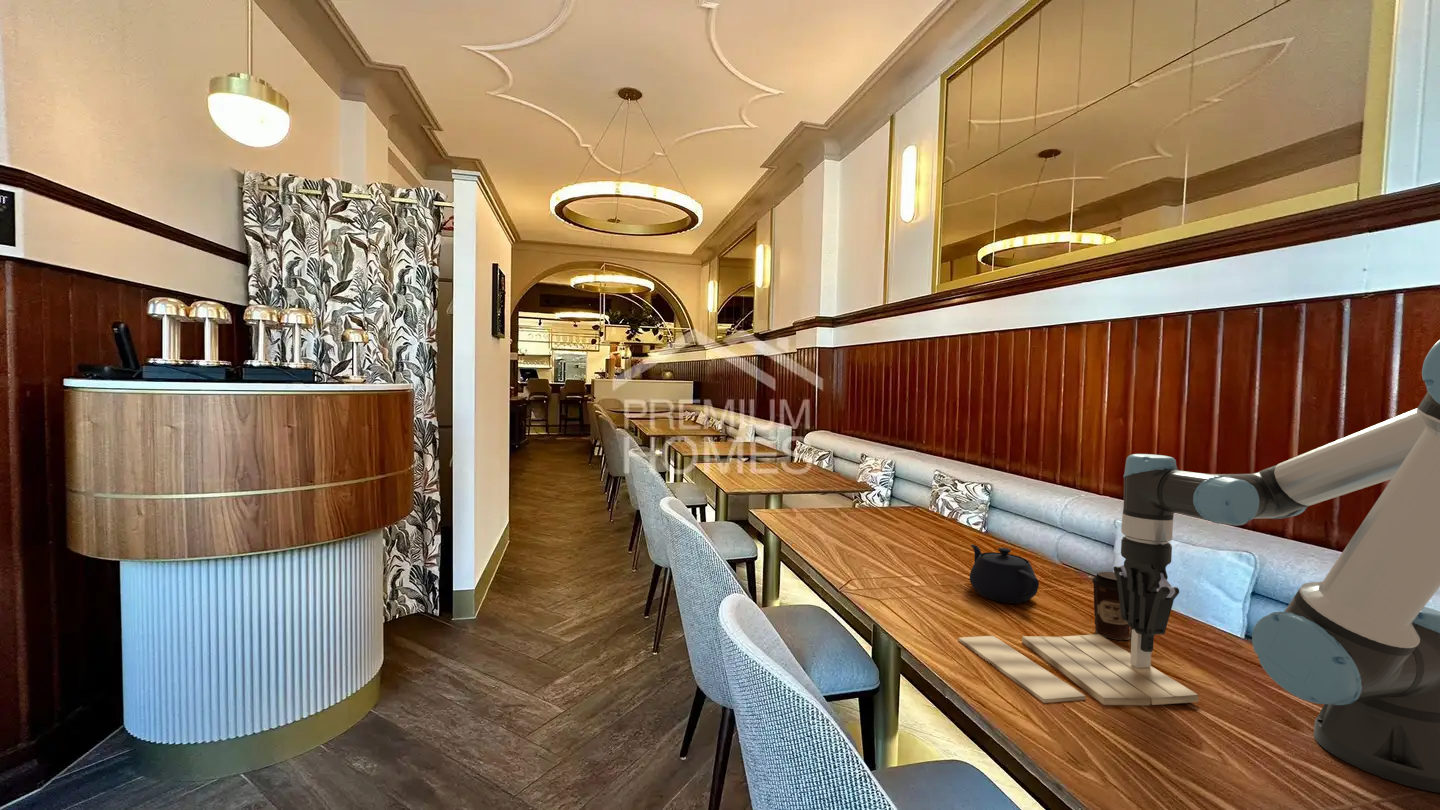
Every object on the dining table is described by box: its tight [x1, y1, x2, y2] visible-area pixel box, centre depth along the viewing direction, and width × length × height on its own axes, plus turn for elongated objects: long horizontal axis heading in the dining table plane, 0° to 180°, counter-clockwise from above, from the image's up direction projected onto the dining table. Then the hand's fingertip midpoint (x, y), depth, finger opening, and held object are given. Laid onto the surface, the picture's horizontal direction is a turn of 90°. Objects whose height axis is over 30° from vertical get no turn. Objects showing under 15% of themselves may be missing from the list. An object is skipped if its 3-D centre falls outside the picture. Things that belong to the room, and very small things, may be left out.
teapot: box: [969, 544, 1040, 604], centre depth 149 cm, size 25×16×12 cm, turn 11°
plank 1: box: [958, 635, 1087, 704], centre depth 110 cm, size 24×8×1 cm, turn 11°
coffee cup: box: [1091, 571, 1130, 641], centre depth 126 cm, size 9×8×13 cm
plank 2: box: [1060, 633, 1199, 706], centre depth 109 cm, size 24×8×1 cm, turn 3°
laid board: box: [1021, 635, 1151, 706], centre depth 109 cm, size 24×8×1 cm, turn 3°
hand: (1140, 665), depth 108 cm, fingers closed
